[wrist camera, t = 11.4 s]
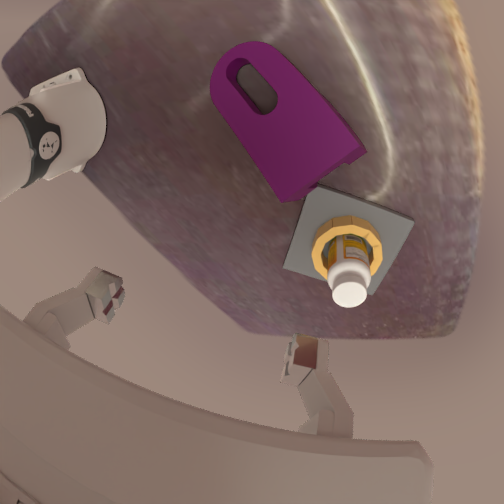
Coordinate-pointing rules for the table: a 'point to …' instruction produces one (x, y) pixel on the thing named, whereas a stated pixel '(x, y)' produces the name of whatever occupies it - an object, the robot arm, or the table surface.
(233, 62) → the mounting bracket
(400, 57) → the table surface
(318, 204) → the plate
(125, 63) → the table surface
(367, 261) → the supplement bottle
